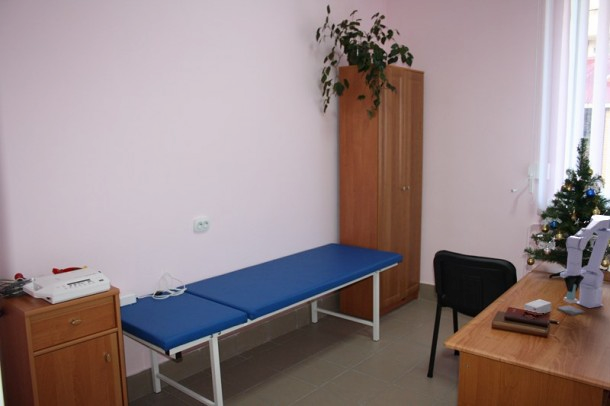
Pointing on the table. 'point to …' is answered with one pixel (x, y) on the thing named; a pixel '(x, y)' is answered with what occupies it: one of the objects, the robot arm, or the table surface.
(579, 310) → the rubber mat
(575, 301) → the pusher tool
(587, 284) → the robot arm
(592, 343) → the table surface
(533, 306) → the skincare box
